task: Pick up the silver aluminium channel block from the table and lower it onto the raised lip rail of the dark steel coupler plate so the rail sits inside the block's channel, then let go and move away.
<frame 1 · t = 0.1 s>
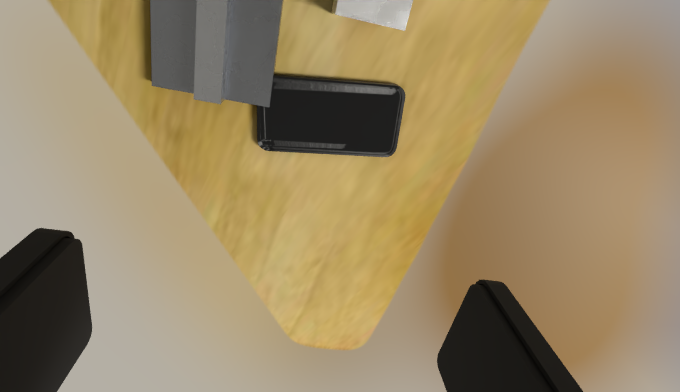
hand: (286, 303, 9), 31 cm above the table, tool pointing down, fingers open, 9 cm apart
coupler: (219, 5, 33), on the table
phone: (329, 116, 39), on the table
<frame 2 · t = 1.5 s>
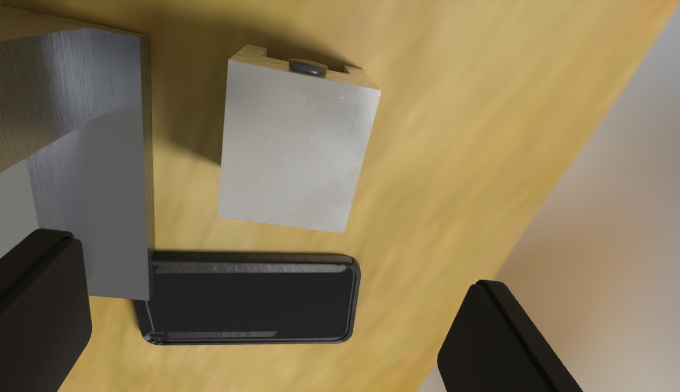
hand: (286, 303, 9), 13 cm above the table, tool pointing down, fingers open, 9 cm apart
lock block: (296, 123, 20), on the table
coupler: (46, 168, 20), on the table
phone: (251, 292, 26), on the table
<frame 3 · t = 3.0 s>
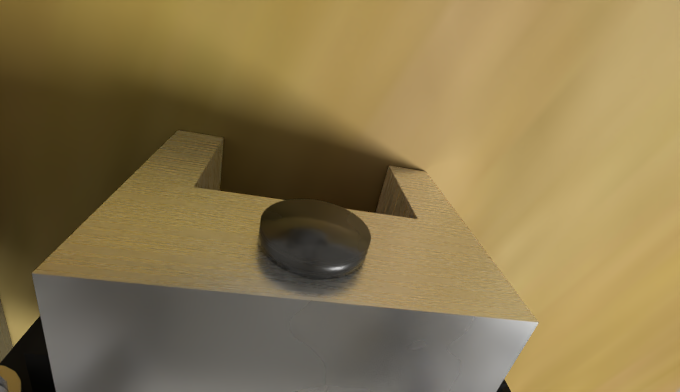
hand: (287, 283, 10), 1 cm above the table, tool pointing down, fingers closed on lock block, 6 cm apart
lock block: (288, 267, 10), on the table, touching gripper
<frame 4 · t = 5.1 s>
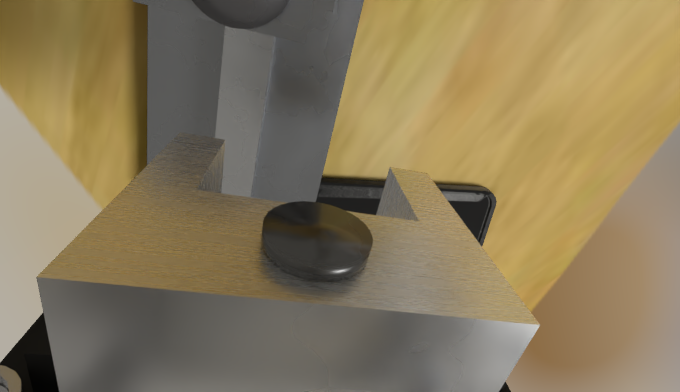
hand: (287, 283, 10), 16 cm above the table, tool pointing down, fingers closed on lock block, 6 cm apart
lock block: (289, 268, 10), point 15 cm above the table, touching gripper
coupler: (249, 88, 23), on the table
phone: (388, 224, 29), on the table
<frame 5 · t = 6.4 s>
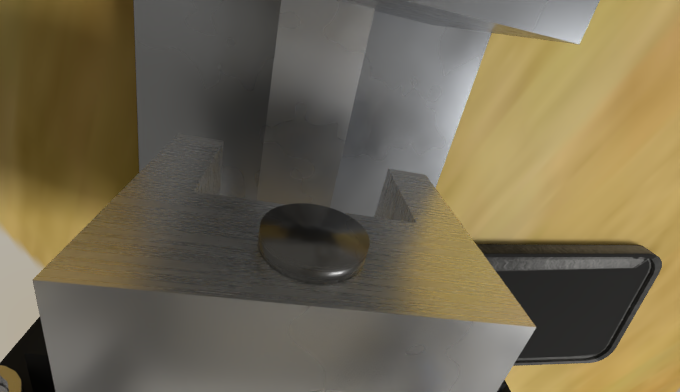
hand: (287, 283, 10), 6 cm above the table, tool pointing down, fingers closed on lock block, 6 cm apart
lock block: (287, 270, 10), point 6 cm above the table, touching gripper
coupler: (304, 116, 14), on the table
phone: (493, 298, 20), on the table
when the fingers open (3 cm above the table, at t = 7.5 s): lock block stays where it is, resting on coupler.
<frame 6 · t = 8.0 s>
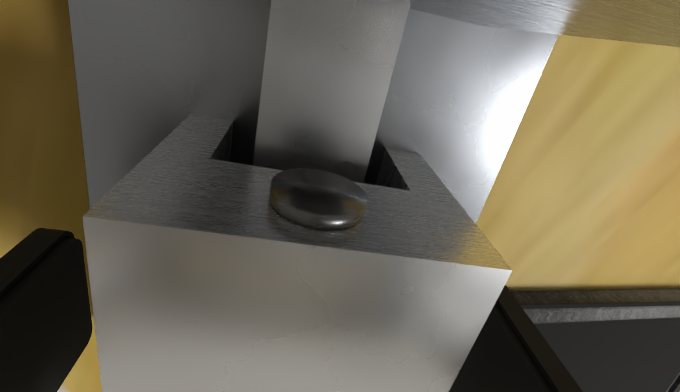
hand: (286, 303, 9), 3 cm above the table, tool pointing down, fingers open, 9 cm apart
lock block: (291, 244, 11), point 1 cm above the table, touching coupler
coupler: (305, 143, 11), on the table
phone: (528, 348, 17), on the table
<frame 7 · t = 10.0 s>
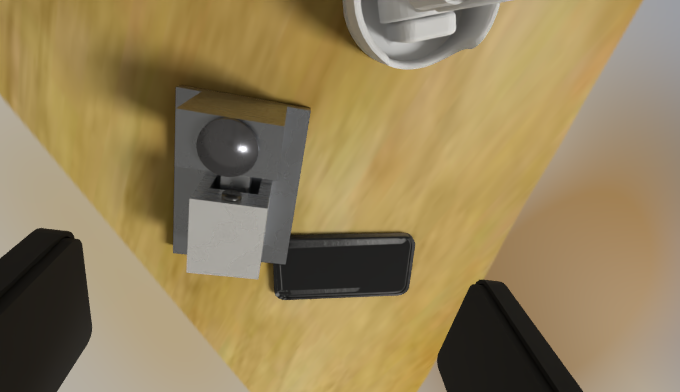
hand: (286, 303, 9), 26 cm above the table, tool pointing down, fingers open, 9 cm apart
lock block: (235, 213, 35), point 1 cm above the table, touching coupler
coupler: (239, 181, 35), on the table
phone: (342, 262, 40), on the table
engine component: (408, 0, 30), on the table
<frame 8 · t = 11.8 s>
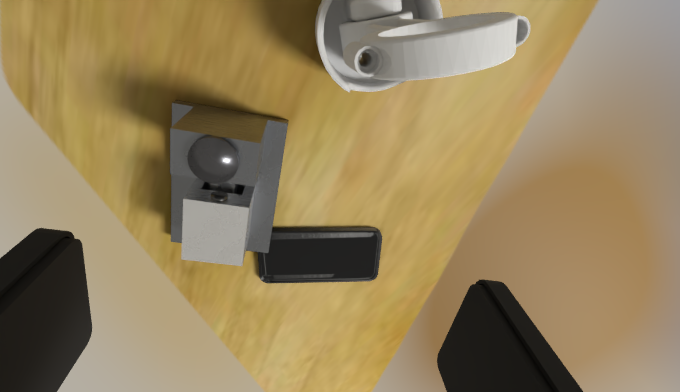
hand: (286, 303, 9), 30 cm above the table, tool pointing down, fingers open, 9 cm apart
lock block: (224, 209, 40), point 1 cm above the table, touching coupler
coupler: (227, 181, 40), on the table
phone: (319, 251, 46), on the table
engine component: (372, 29, 34), on the table
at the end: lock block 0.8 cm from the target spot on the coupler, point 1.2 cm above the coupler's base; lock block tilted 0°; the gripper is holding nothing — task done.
